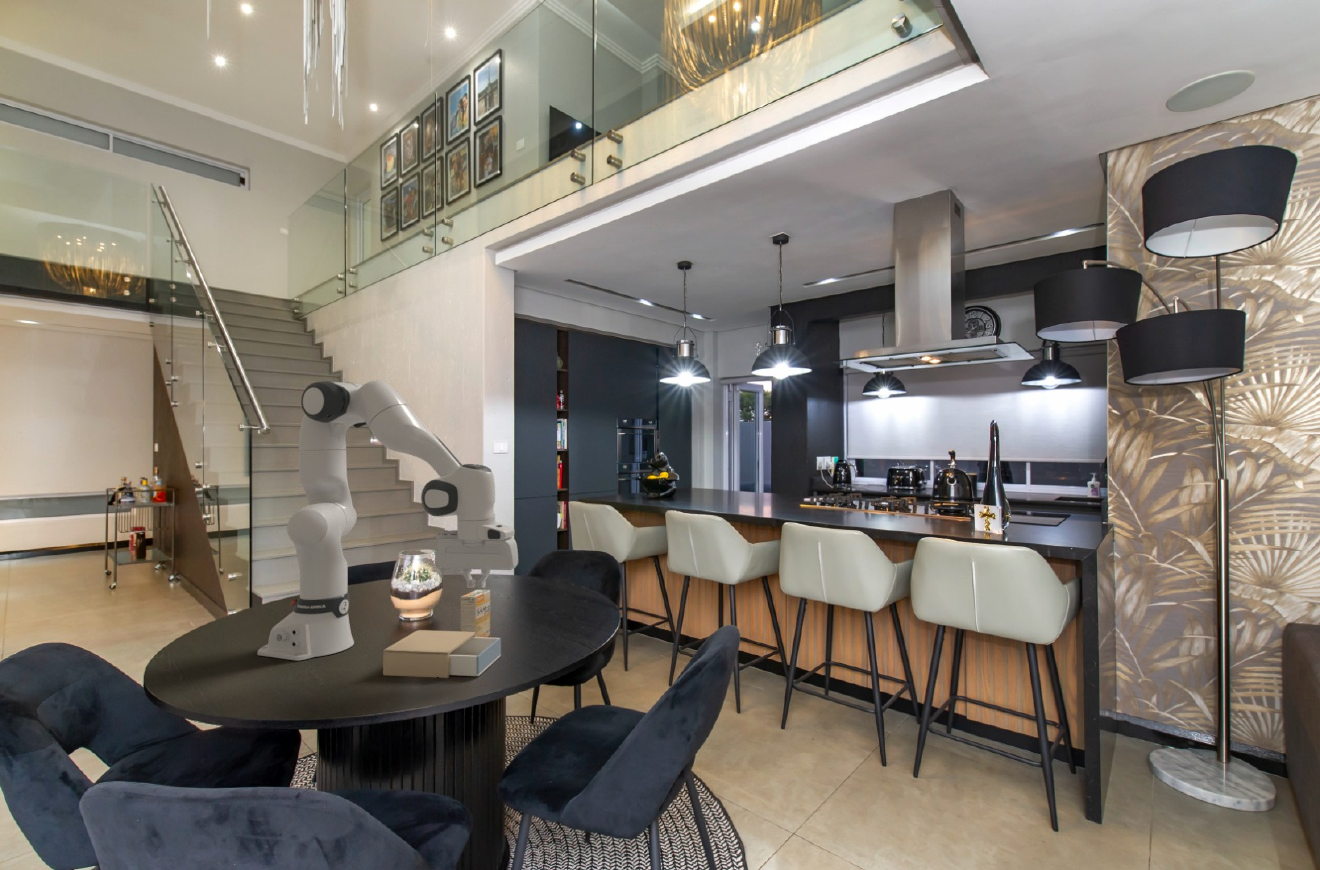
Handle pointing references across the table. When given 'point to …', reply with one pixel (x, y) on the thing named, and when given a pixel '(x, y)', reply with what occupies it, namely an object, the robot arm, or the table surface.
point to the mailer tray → (474, 656)
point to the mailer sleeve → (423, 653)
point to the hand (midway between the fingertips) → (476, 587)
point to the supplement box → (476, 613)
